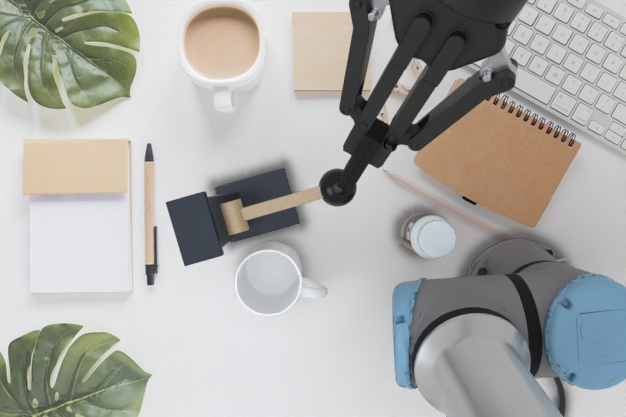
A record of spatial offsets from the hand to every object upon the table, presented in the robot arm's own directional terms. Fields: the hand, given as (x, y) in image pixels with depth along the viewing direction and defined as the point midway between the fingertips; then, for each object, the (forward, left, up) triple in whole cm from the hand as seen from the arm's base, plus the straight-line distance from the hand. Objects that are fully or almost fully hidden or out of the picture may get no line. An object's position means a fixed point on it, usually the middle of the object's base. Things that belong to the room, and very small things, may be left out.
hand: (348, 178), depth 50 cm
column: (-1, +15, -26) cm, 30 cm away
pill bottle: (-11, -10, -27) cm, 31 cm away
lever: (-1, +6, -3) cm, 7 cm away
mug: (-11, +10, -27) cm, 31 cm away
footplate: (-1, +11, -27) cm, 29 cm away
